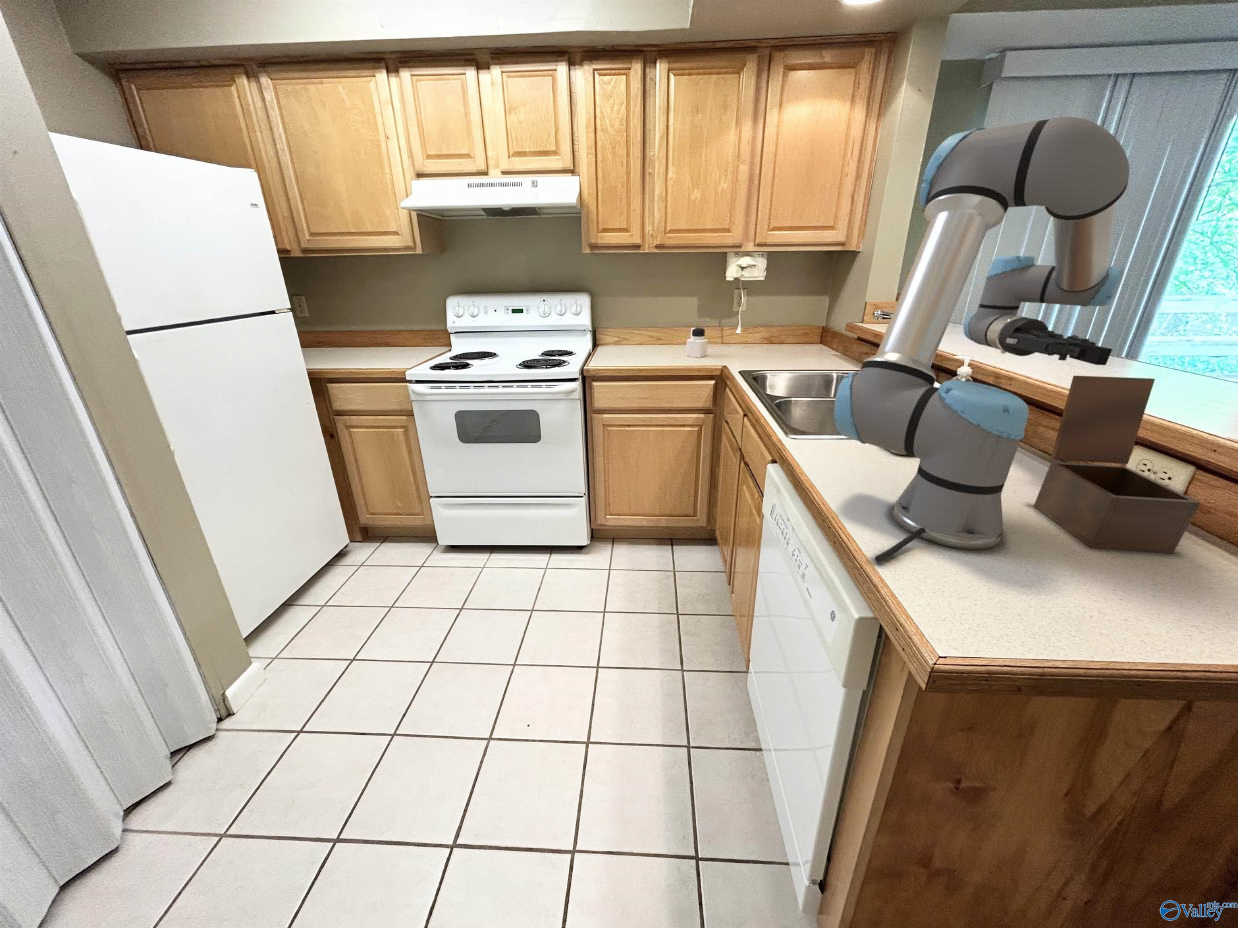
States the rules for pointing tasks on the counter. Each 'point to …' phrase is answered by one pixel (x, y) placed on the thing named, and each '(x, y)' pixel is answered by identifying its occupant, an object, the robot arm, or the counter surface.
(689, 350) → the medicine bottle
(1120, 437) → the lid
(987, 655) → the counter surface
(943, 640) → the counter surface
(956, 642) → the counter surface
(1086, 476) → the chest
